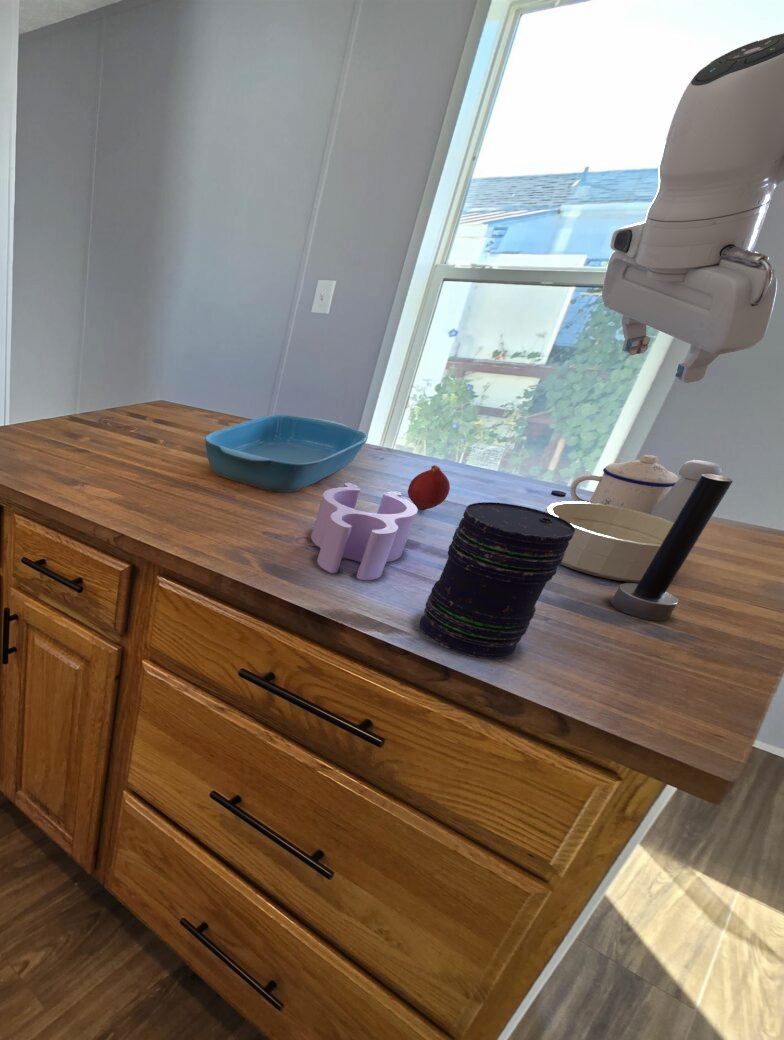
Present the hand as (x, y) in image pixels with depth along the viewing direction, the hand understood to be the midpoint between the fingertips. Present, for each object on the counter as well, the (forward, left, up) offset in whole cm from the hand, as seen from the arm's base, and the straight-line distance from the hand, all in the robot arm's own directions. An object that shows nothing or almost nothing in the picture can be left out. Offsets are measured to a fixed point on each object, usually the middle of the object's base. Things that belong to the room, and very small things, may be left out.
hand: (659, 365), depth 76 cm
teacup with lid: (-10, -31, -29) cm, 43 cm away
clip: (+24, +5, -29) cm, 38 cm away
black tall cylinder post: (-9, +4, -28) cm, 30 cm away
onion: (+16, -20, -29) cm, 39 cm away
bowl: (-7, -12, -28) cm, 32 cm away
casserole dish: (+41, -29, -29) cm, 58 cm away
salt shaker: (-16, -25, -29) cm, 41 cm away
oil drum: (+10, +24, -29) cm, 39 cm away
